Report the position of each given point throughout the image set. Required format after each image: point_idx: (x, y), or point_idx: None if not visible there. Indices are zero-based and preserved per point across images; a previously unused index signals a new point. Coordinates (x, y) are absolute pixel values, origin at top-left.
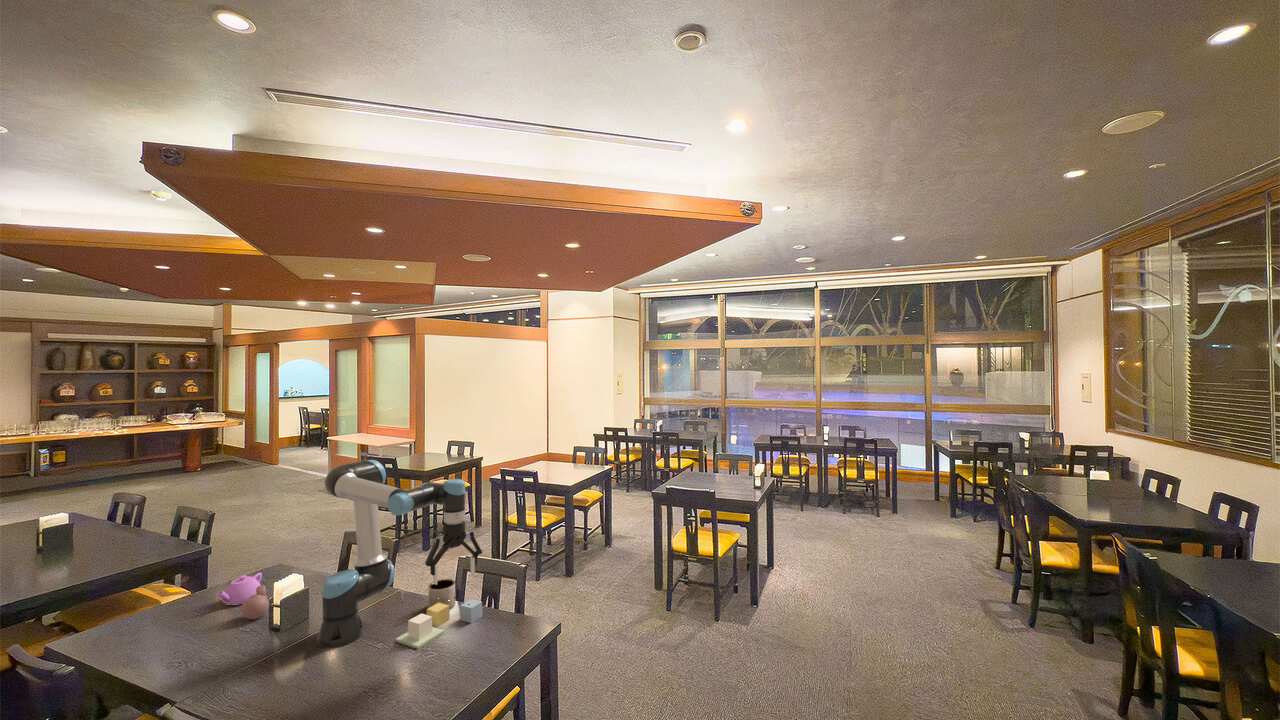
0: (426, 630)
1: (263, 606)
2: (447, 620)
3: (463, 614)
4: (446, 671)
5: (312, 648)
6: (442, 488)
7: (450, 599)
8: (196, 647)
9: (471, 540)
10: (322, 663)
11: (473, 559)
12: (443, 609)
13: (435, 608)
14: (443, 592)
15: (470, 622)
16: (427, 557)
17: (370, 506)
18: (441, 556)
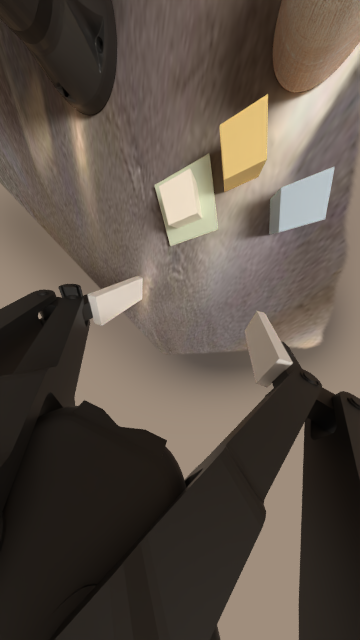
0: (188, 221)
1: None
2: (252, 178)
3: (273, 206)
4: (174, 314)
5: None
6: None
7: (331, 55)
8: None
9: (332, 588)
10: (73, 169)
11: (258, 376)
12: (244, 170)
13: (234, 146)
14: (322, 13)
15: (269, 232)
16: (9, 305)
17: None
18: (79, 359)
